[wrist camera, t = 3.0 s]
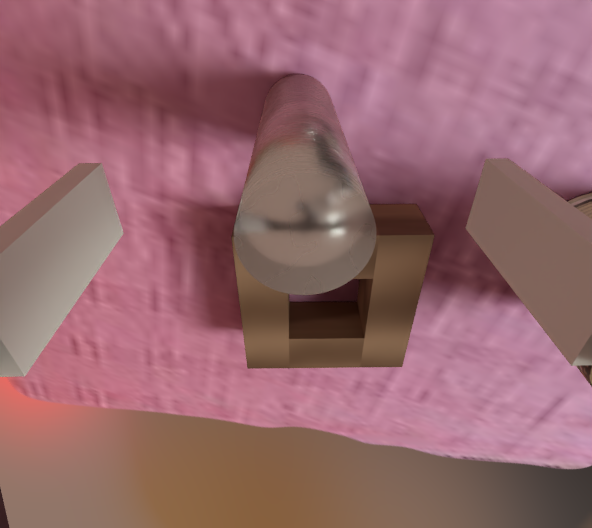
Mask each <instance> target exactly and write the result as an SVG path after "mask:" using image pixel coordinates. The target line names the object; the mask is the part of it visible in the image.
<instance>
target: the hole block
mask: <svg viewBox="0 0 592 528" xmlns="http://www.w3.org/2000/svg"><path fill="white" fill-rule="evenodd" d="M369 205H370V208H371V210H372V213H373V216H374V219H375V223H376V232H377V233H376V243H375V247H374V250H373V253H372V256H371V258H370V259H369V261H368V263H367V264H366V266H365V267H364V268H363V270H362V271H361V272H360V273H359V274H358V275H357V276H355V277H354V278H353V279H359V288H358V296H357V302H289V294H287V293H283V292H279V291H277V290H274V289H271V288H269V287H267V286H265V285H264V284H262V283H260V282H259V281H257V280H256V279H255V278H254V277H253V276H252V275H251V274H250V273H249V272H248V271H247V270H246V269H245V267H244V266H243V265H242V263H241V261H240V259H239V258H238V255H237V252H236V249H235V244H234V228H233V232H232V236H231V238H232V246H233V254H234V262H235V270H236V278H237V286H238V294H239V303H240V311H241V319H242V327H243V335H244V343H245V351H246V359H247V367H248V368H337V367H402V365H403V361H404V357H405V353H406V349H407V345H408V340H409V336H410V332H411V328H412V324H413V320H414V316H415V312H416V308H417V304H418V300H419V296H420V292H421V288H422V284H423V280H424V276H425V272H426V268H427V264H428V260H429V256H430V252H431V248H432V244H433V240H434V236H435V235H434V233H433V231H432V230H431V228H430V226H429V225H428V223H427V221H426V219H425V218H424V216H423V214H422V213H421V211H420V209H419V207H418V206H417V204H369ZM238 210H239V208H238ZM237 214H238V212H237ZM236 218H237V216H236ZM235 222H236V220H235ZM234 226H235V224H234Z"/></svg>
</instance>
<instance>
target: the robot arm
mask: <svg viewBox="0 0 592 528" xmlns="http://www.w3.org/2000/svg"><path fill="white" fill-rule="evenodd" d="M465 229H466V230H467V231H468V232H469V234H470V235H471V236H472V238H473V239H474V240H475V242H476V243H477V244H478V245H479V247H480V248H481V249H482V251H483V252H484V253H485V254H486V256H487V257H488V258H489V260H490V261H491V262H492V264H493V265H494V266H495V267H496V269H497V270H498V271H499V273H500V274H501V275H502V276H503V278H504V279H505V280H506V282H507V283H508V284H509V286H510V287H511V288H512V289H513V291H514V292H515V293H516V295H517V296H518V297H519V298H520V300H521V301H522V302H523V304H524V305H525V306H526V308H527V309H528V310H529V311H530V313H531V314H532V315H533V317H534V318H535V319H536V320H537V322H538V323H539V324H540V326H541V327H542V328H543V330H544V331H545V332H546V333H547V335H548V336H549V337H550V339H551V340H552V341H553V342H554V344H555V345H556V346H557V348H558V349H559V350H560V351H561V353H562V354H563V355H564V357H565V358H566V359H567V361H568V362H569V363H570V364H571V366H579V365H592V219H590V218H589V217H588V216H586V215H585V214H584V213H582V212H581V211H579V210H578V209H577V208H575V207H574V206H573V205H571V204H570V203H568V202H567V201H566V200H564V199H563V198H562V197H560V196H559V195H557V194H556V193H555V192H553V191H552V190H551V189H549V188H548V187H546V186H545V185H544V184H542V183H541V182H540V181H538V180H537V179H536V178H534V177H533V176H531V175H530V174H529V173H527V172H526V171H525V170H523V169H522V168H520V167H519V166H518V165H516V164H515V163H514V162H512V161H511V160H509V159H508V158H504V159H486V160H485V164H484V167H483V170H482V174H481V177H480V181H479V184H478V187H477V191H476V194H475V198H474V201H473V204H472V208H471V211H470V215H469V218H468V221H467V225H466V228H465ZM122 235H123V230H122V227H121V224H120V220H119V217H118V214H117V211H116V208H115V204H114V201H113V198H112V195H111V192H110V188H109V185H108V182H107V179H106V175H105V172H104V169H103V166H102V163H79V164H78V165H76V166H75V167H74V168H73V169H71V170H70V171H69V172H68V173H66V174H65V175H64V176H63V177H61V178H60V179H59V180H58V181H56V182H55V183H54V184H53V185H51V186H50V187H49V188H48V189H46V190H45V191H44V192H43V193H41V194H40V195H39V196H38V197H36V198H35V199H34V200H33V201H31V202H30V203H29V204H28V205H26V206H25V207H24V208H23V209H21V210H20V211H19V212H18V213H16V214H15V215H14V216H13V217H11V218H10V219H9V220H8V221H6V222H5V223H4V224H3V225H1V226H0V377H12V376H25V375H26V374H27V372H28V371H29V370H30V368H31V367H32V365H33V364H34V362H35V361H36V359H37V358H38V357H39V355H40V354H41V352H42V351H43V349H44V348H45V346H46V345H47V343H48V342H49V341H50V339H51V338H52V336H53V335H54V333H55V332H56V330H57V329H58V328H59V326H60V325H61V323H62V322H63V320H64V319H65V317H66V316H67V315H68V313H69V312H70V310H71V309H72V307H73V306H74V304H75V303H76V301H77V300H78V299H79V297H80V296H81V294H82V293H83V291H84V290H85V288H86V287H87V286H88V284H89V283H90V281H91V280H92V278H93V277H94V275H95V274H96V273H97V271H98V270H99V268H100V267H101V265H102V264H103V262H104V261H105V259H106V258H107V257H108V255H109V254H110V252H111V251H112V249H113V248H114V246H115V245H116V244H117V242H118V241H119V239H120V238H121V236H122ZM0 528H9V524H8V520H7V515H6V511H5V507H4V502H3V498H2V493H1V489H0Z"/></svg>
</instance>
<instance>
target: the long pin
mask: <svg viewBox="0 0 592 528" xmlns="http://www.w3.org/2000/svg"><path fill="white" fill-rule="evenodd" d="M376 233H377V232H376V223H375V219H374V216H373V213H372V210H371V208H370V205H369V202H368V199H367V197H366V194H365V191H364V188H363V186H362V183H361V180H360V177H359V175H358V172H357V169H356V166H355V164H354V161H353V158H352V155H351V153H350V150H349V147H348V144H347V142H346V139H345V136H344V133H343V131H342V128H341V125H340V122H339V120H338V117H337V114H336V111H335V109H334V106H333V103H332V100H331V98H330V95H329V93H328V91H327V89H326V88H325V87H324V86H323V85H322V84H321V83H320V82H319V81H318V80H317V79H315V78H313V77H311V76H308V75H304V74H293V75H289V76H286V77H284V78H282V79H280V80H279V81H277V82H276V83H275V84H274V85H273V86H272V88H271V89H270V90H269V92H268V94H267V96H266V99H265V103H264V107H263V111H262V115H261V119H260V124H259V128H258V132H257V136H256V140H255V144H254V148H253V152H252V156H251V160H250V164H249V169H248V173H247V177H246V181H245V185H244V189H243V193H242V197H241V201H240V205H239V210H238V214H237V218H236V222H235V226H234V244H235V249H236V252H237V255H238V258H239V259H240V261H241V263H242V265H243V266H244V267H245V269H246V270H247V271H248V272H249V273H250V274H251V275H252V276H253V277H254V278H255V279H256V280H257V281H259V282H260V283H262V284H264V285H265V286H267V287H269V288H271V289H274V290H277V291H279V292H283V293H287V294H294V295H314V294H320V293H324V292H328V291H331V290H334V289H336V288H338V287H340V286H342V285H344V284H346V283H347V282H349V281H351V280H352V279H353V278H354V277H355V276H357V275H358V274H359V273H360V272H361V271H362V270H363V268H364V267H365V266H366V264H367V263H368V261H369V259H370V258H371V256H372V253H373V250H374V247H375V243H376Z"/></svg>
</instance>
